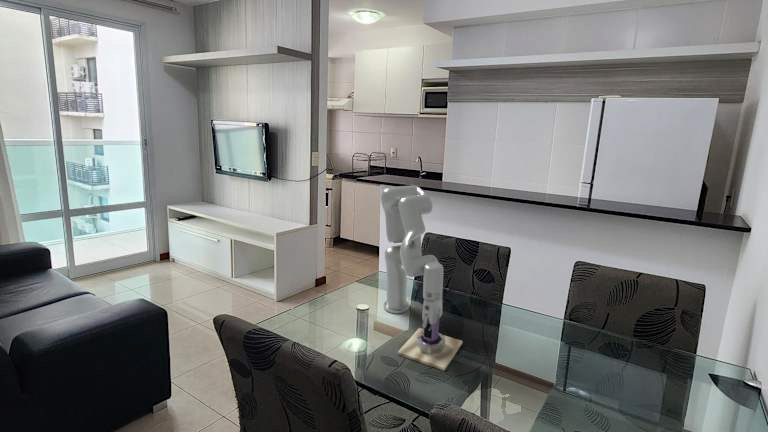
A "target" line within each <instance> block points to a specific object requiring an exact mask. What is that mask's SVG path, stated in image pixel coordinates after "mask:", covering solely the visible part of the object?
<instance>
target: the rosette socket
mask: <svg viewBox="0 0 768 432" xmlns="http://www.w3.org/2000/svg"><path fill="white" fill-rule="evenodd" d="M423 338H424V328H423V327H418V328H417V330H416V331H415V332H414V333H413V334H412V335H411V336H410V338H408V339H407V340H406V342H405V343H404V344H403V345H402V346H401V347H400V348H399V350H398V351H397V355H398V356H401V357H404V358H407V359H410V360H412V361H415V362H418V363H420V364H423V365H427V366H428V367H429V366H430V367H432V368H436V369H437V370H441V371H446V369H447V368H448V366H449V364H450V363H451V361H452V360H453V358H454V357H455V356H456V355H457V352H458V351H459V350H460V348H461V347H462V345H463V343H464V342H463V341H464V340H461V339H457V338H453V337H451V336H447V335H445V334H444V335H443V334H442V333H440V332H439V334H438V344H432V345H430V344H427V343H424V341H423Z"/></svg>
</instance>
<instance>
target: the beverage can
mask: <svg viewBox="0 0 768 432" xmlns="http://www.w3.org/2000/svg"><path fill="white" fill-rule="evenodd" d="M428 322H429V320H428ZM429 325H430V324H428V323H427V326H429ZM431 329H432V338H431V339H429V338H426V337H424V338H423V341H424V343H427V344H430V345H432V344H438V334H439V333H440V332H439V331H440V330H439V329H440V318H439V312H438V314H437V322H436V323H435V324H434V325H432V327H431Z"/></svg>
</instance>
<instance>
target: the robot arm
mask: <svg viewBox="0 0 768 432" xmlns="http://www.w3.org/2000/svg"><path fill="white" fill-rule="evenodd" d="M380 202H381V206H382V208H383V211H384V216H385V233H386V238H387V242H388V243H390V244H397V245H393V246H389V247H387V248H386V249H385V250H384V260H385V268H386V269H385V270H386V301H384V302H383V309H384V310H385V311H386V312H388V313H390V314H402V313H405V312H408V311H409V309H410V304H409V302H408V301H407V290H408V289H407V288H408V287H407V284H408V282H407V278H408V277H409V278H410V277H412V278H413V277H419V276H423V278H422V279H423V284H422V298H423V304H422V320H421V321H422V325H421V326H422V327H421V328H422V329H424V337H426V338H429V339H431V338H432V329H431V327H432V325H434V324H435V323H436V322H437V314H438V312H439V319H440V318H441V317H442V315H443V287H444V266H443V264H441V263H440V261H438V258H437V257H436V256H435V255H433V254H426V255H422V235H423V234H424V233H426V226H425V223H424V219H423V215H428V214H431V212H432V211H433V202H432V200H431V197H430V196H429V195H428V194H427V193H426V192H425V191H424V190H423V189H422V188H421V187H420V186H418V185H404V186H403V185H399V186H391V187H387V188H385V189H383V190H382V191H381V195H380ZM398 244H399V245H398ZM428 320H429V322H428ZM427 323H428V324H430V325H429V326H427Z"/></svg>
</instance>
